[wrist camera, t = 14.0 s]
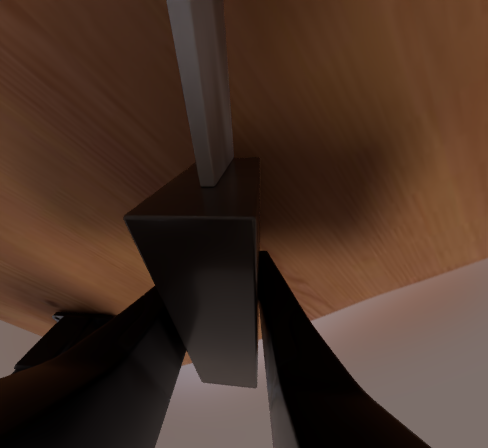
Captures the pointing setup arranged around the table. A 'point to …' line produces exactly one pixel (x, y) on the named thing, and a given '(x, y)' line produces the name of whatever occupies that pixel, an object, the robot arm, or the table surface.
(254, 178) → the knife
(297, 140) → the table surface
